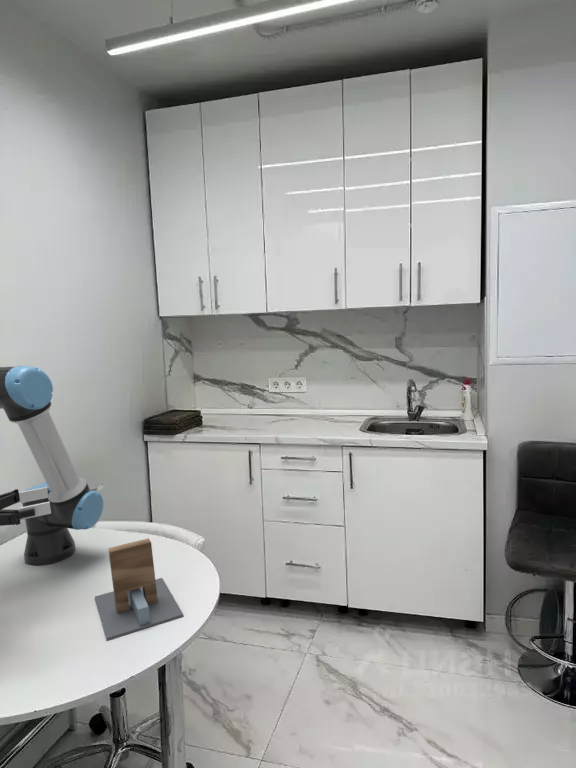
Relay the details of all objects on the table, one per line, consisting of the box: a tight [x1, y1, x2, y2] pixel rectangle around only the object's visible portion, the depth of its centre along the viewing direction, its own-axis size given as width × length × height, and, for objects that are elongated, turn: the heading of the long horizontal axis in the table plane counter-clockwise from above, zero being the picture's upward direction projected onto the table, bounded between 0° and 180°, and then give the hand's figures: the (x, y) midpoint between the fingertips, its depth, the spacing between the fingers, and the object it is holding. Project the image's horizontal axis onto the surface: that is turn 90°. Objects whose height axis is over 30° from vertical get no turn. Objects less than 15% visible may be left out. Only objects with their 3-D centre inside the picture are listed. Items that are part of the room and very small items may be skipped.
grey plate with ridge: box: [94, 577, 184, 641], centre depth 138 cm, size 22×18×5 cm
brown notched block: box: [107, 537, 158, 614], centre depth 137 cm, size 3×10×16 cm, turn 116°
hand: (49, 499), depth 135 cm, fingers open, 13 cm apart
